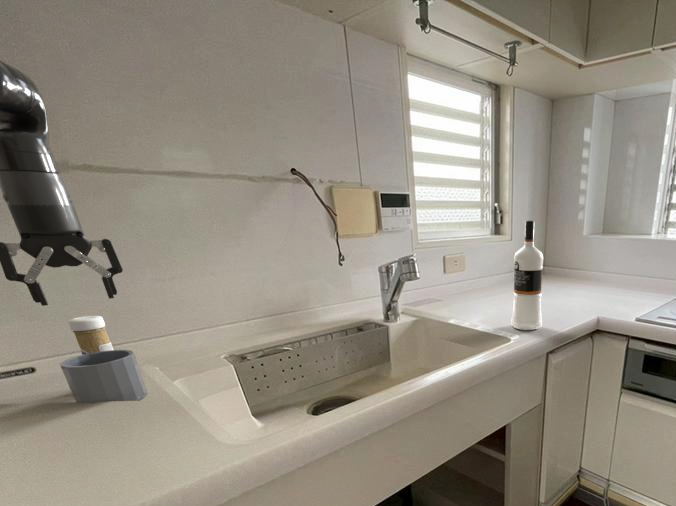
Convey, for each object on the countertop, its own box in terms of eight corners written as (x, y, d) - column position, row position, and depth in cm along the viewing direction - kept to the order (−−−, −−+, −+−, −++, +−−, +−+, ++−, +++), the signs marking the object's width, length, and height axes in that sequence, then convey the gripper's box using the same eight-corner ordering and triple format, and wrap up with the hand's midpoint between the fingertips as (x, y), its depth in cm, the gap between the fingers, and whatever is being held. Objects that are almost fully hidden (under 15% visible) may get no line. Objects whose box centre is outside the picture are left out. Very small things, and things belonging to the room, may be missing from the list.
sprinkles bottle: (88, 389, 76) (59, 320, 71) (111, 380, 80) (85, 314, 75) (110, 390, 76) (84, 321, 71) (132, 381, 80) (108, 315, 75)
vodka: (546, 329, 118) (551, 220, 107) (516, 331, 116) (518, 220, 105) (535, 322, 126) (539, 220, 115) (507, 324, 124) (508, 220, 113)
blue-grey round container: (62, 412, 67) (43, 367, 64) (108, 390, 76) (92, 350, 73) (121, 410, 68) (104, 366, 65) (159, 389, 77) (146, 349, 74)
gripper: (98, 204, 73) (129, 293, 79) (-24, 203, 64) (21, 304, 70) (101, 203, 68) (133, 298, 74) (-31, 201, 59) (18, 310, 65)
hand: (79, 301), depth 72 cm, fingers open, 8 cm apart
